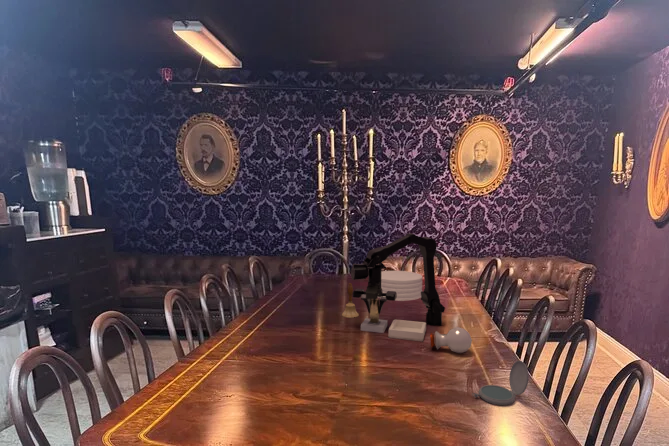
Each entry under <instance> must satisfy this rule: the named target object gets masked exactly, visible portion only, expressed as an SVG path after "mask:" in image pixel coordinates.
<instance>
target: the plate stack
mask: <svg viewBox="0 0 669 446" xmlns="http://www.w3.org/2000/svg"><path fill="white" fill-rule="evenodd" d="M381 288H382V293H387V291H395V292H396V293H397V298H396V299H395V300H394V301H399V302H400V301H401V302H402V301H404V302H405V301H414V300H418V299H421V291H423V275H422V274H420V273H417V272H413V271H408V270H406V271H405V270H382V273H381ZM378 299H381V297H378Z"/></svg>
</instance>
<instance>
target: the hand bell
mask: <svg viewBox="0 0 669 446" xmlns="http://www.w3.org/2000/svg"><path fill="white" fill-rule="evenodd" d="M353 291H354V288H353V284H352V283H351V282H348V285H347V295H348V303H346V304H345V308H344V311H343V312H342V313H341V317H343V318H349V319H354V317H355V318H358V317H359V312H357V309H356V305H355V303H353Z"/></svg>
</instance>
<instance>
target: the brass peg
mask: <svg viewBox="0 0 669 446" xmlns="http://www.w3.org/2000/svg"><path fill="white" fill-rule="evenodd" d="M379 300H380V298H379V297H377V299H376V300H373V299H370V313H369V319H370V322H372V323H378V322H379V319H380V314H379V304H380V301H379Z"/></svg>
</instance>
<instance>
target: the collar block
mask: <svg viewBox="0 0 669 446" xmlns="http://www.w3.org/2000/svg"><path fill="white" fill-rule="evenodd" d="M387 327H388V319H380V318H379V322H378V323H372V322H370V317H369V318H368V317H365V319H364V320H363V321H362V323H361V324H360V331H361V332H362V331H363V332H370V333H380V334H381V333H382V334H384V333H385V331H386V330H387Z"/></svg>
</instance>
